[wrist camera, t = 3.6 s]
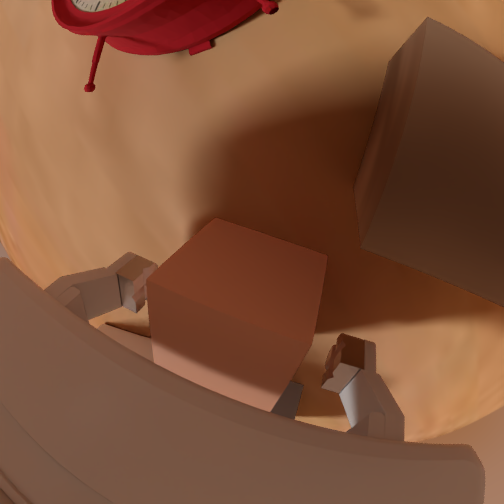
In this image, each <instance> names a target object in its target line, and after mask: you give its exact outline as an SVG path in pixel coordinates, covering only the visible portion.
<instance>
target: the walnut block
mask: <svg viewBox="0 0 504 504" xmlns="http://www.w3.org/2000/svg"><path fill="white" fill-rule="evenodd" d="M353 189H354V196H355V204H356V211H357V220H358V228H359V238H360V248H361V249H364V250H366V251H369V252H372V253H374V254H377V255H380V256H382V257H385V258H388V259H390V260H393V261H395V262H398V263H400V264H403V265H406V266H408V267H411V268H413V269H416V270H418V271H421V272H423V273H426V274H428V275H431V276H433V277H435V278H438V279H440V280H443V281H445V282H448V283H450V284H452V285H455V286H457V287H459V288H462V289H464V290H466V291H469V292H471V293H473V294H476V295H478V296H480V297H482V298H485V299H487V300H489V301H491V302H494V303H496V304H498V305H500V306H502V307H504V62H502V61H501V60H500V59H498V58H497V57H496V56H494V55H493V54H491V53H490V52H488V51H487V50H486V49H484V48H483V47H481V46H480V45H478V44H476V43H475V42H473V41H472V40H470V39H468V38H467V37H465V36H463V35H462V34H460V33H458V32H456V31H455V30H453V29H451V28H449V27H447V26H445V25H443V24H441V23H439V22H437V21H435V20H433V19H431V18H429V17H427V18H426V19H425V20H424V21H423V23H422V24H421V25H420V26H419V27H418V28H417V29H416V31H415V32H414V33H413V34H412V35H411V36H410V38H409V39H408V40H407V41H406V42H405V43H404V44H403V46H402V47H401V48H400V49H399V50H398V51H397V53H396V54H395V55H394V56H393V57H392V59H391V60H390V61H389V63H388V67H387V72H386V76H385V80H384V84H383V88H382V92H381V96H380V100H379V104H378V108H377V112H376V115H375V119H374V122H373V126H372V129H371V133H370V136H369V140H368V143H367V146H366V150H365V153H364V156H363V159H362V162H361V166H360V169H359V172H358V175H357V178H356V181H355V184H354V187H353Z"/></svg>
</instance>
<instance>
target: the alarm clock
mask: <svg viewBox="0 0 504 504" xmlns="http://www.w3.org/2000/svg"><path fill="white" fill-rule="evenodd" d="M51 3H52V11H53V15H54V17H55V20H56V21H57V22H58V24H59V25H60V26H62V27H63V28H65V29H68V30H69V31H71V32H73V33H75V34H79V35H95V36H98V40H97V44H96V47H95V51H94V55H93V59H92V62H93V63H92V67H91V72H90V77H89V82H88V84H86V85H85V88H84V90H85V92H93V91H94V90H95V85H94V84H93V82H94V77H95V73H96V69H97V65H98V62H99V59H100V56H101V52H102V49H103V45H104V42H105V41H106V42H107V43H108V44H109V45H111V46H112V47H114V48H116V49H117V50H120V51H123V52H126V53H132V54H138V55H161V54H168V53H173V52H177V51H181V50H185V49H189V54H190V55H191V56H192V55H195V54H197V53H200V52H203V51H205V50H208V49H211V48H212V47H211V45H210V41H209V40H210V39H212V38H215V37H217V36H219V35H221V34H222V33H224V32H226V31H228V30H230V29H231V28H233V27H235V26H236V25H238V24H239V23H241V22H242V21H244V20H245V19H247V18H248V17H250V16H251V15H252V14H254V13H255V12H256V11H258V10H259V9H260V8H261V7H262V11H263V12H264V13H266V14H270V15H271V14H274V13H276V12H277V11H278V9H279V7H278V4H277V3H276V2H274V1H269V0H52V2H51Z"/></svg>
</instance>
